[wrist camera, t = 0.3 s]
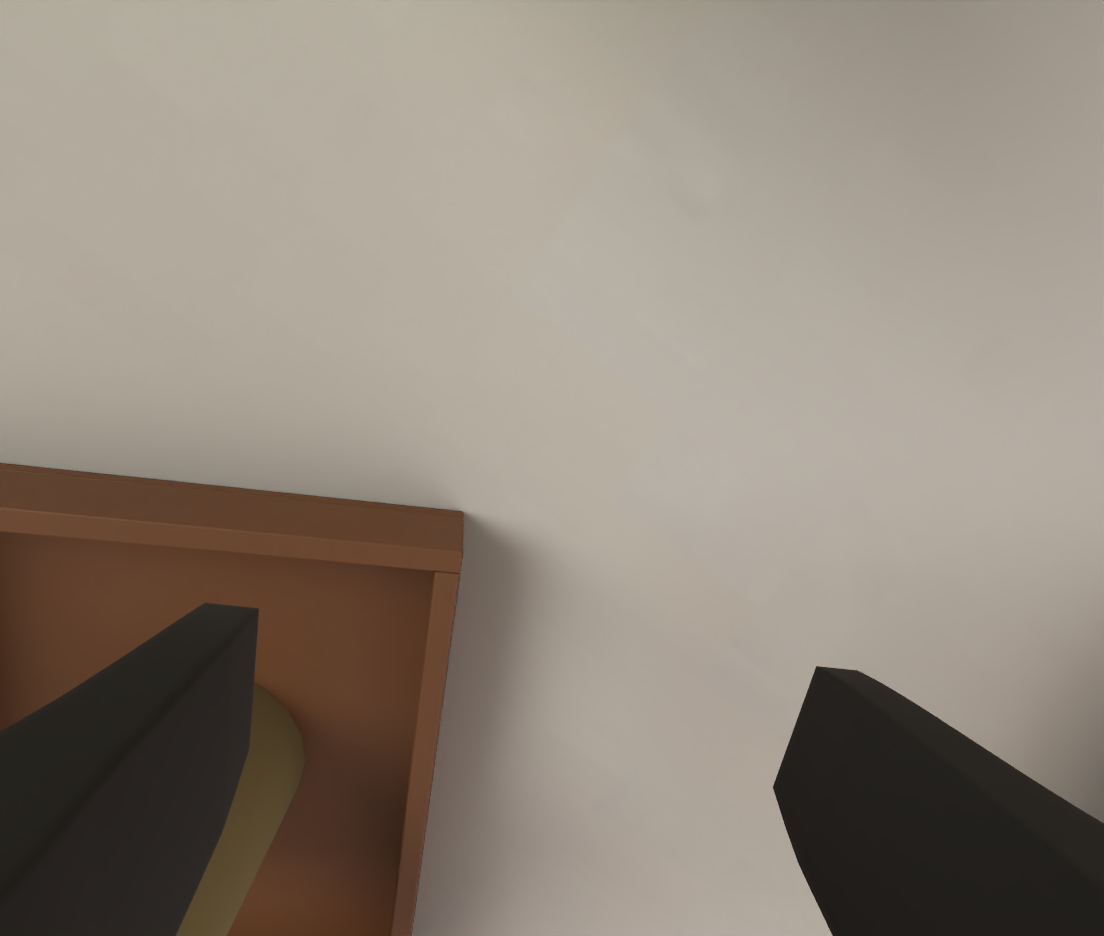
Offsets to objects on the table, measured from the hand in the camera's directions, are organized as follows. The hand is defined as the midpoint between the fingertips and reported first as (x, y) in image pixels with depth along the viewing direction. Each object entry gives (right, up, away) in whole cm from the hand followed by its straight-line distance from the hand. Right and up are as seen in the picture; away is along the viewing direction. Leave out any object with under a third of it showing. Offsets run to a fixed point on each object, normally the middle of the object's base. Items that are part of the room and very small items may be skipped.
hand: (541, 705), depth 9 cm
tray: (-10, -5, +11) cm, 16 cm away
